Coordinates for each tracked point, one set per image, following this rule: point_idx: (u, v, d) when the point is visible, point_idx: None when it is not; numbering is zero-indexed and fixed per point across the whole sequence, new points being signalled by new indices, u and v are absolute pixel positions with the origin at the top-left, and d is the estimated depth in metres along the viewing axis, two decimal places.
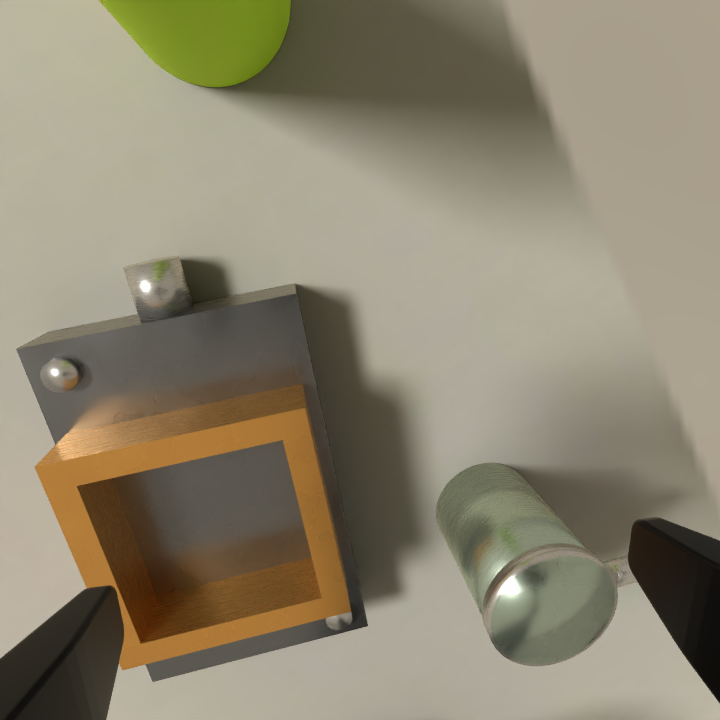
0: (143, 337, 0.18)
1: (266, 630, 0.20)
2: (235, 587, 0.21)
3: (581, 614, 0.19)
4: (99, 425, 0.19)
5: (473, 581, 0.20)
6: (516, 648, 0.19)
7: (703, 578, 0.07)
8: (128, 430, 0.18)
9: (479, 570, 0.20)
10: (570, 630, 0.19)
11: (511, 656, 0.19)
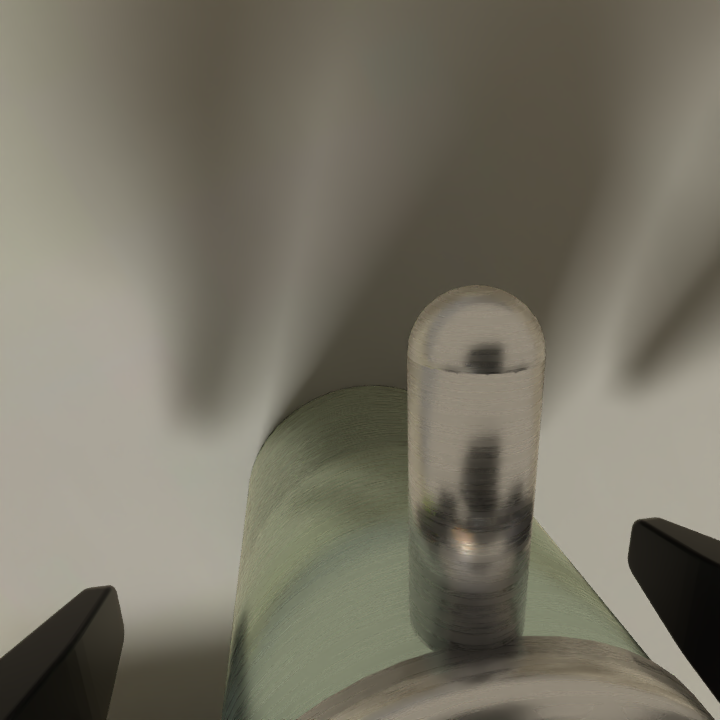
0: None
1: None
2: None
3: None
4: None
5: None
6: None
7: (703, 578, 0.07)
8: None
9: None
10: None
11: None
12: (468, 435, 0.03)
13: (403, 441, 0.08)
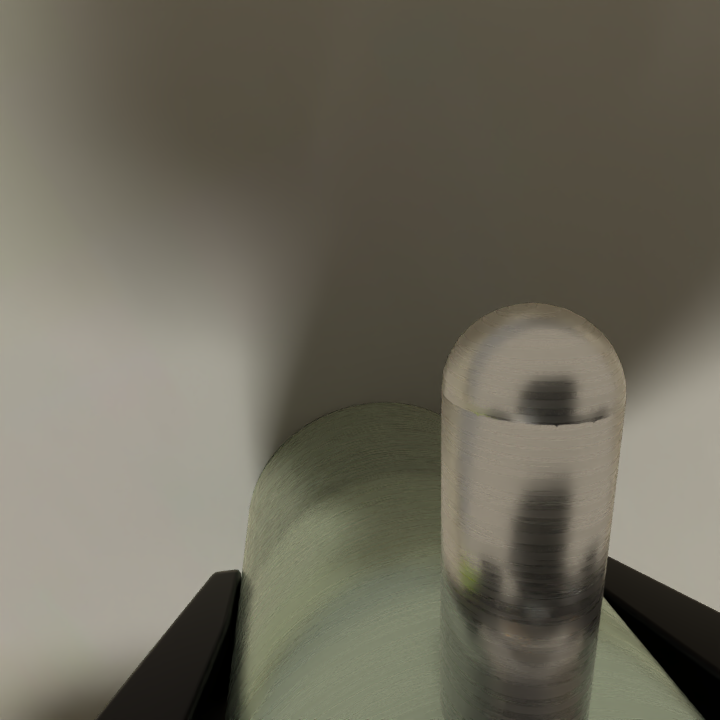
0: None
1: None
2: None
3: None
4: None
5: None
6: None
7: None
8: None
9: None
10: None
11: None
12: (528, 502, 0.03)
13: (420, 469, 0.07)
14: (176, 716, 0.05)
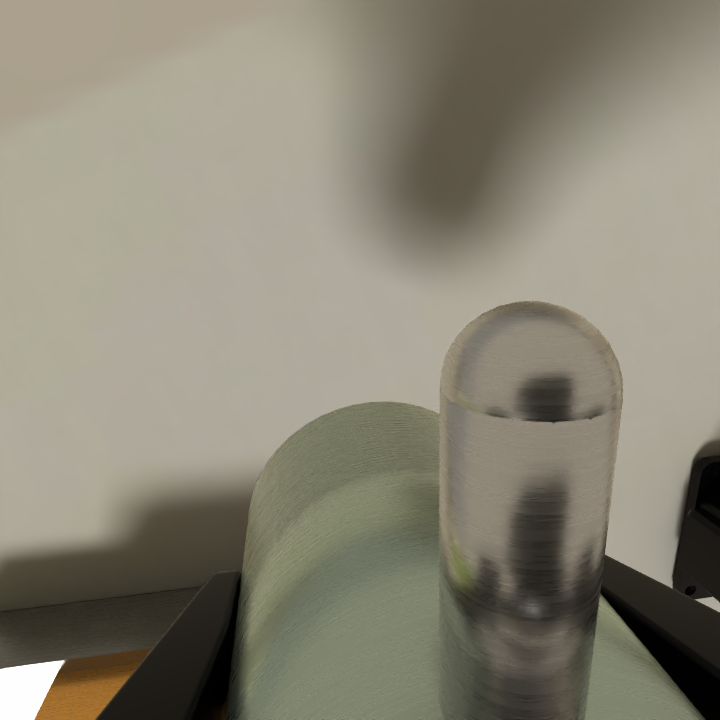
0: None
1: None
2: None
3: None
4: None
5: None
6: None
7: None
8: None
9: None
10: None
11: None
12: (526, 499, 0.03)
13: (420, 468, 0.07)
14: (176, 716, 0.05)
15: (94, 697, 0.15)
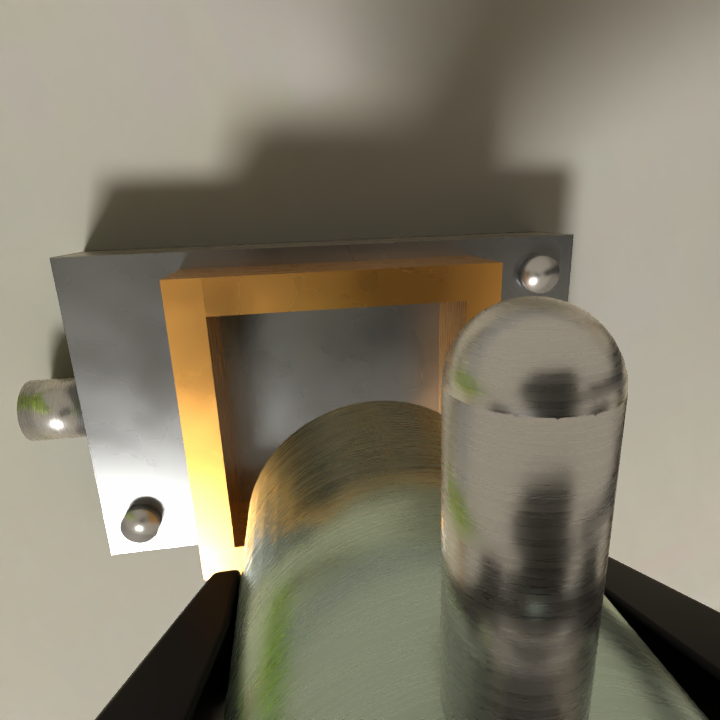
0: (104, 439, 0.16)
1: None
2: None
3: None
4: None
5: None
6: None
7: None
8: None
9: None
10: None
11: None
12: (528, 495, 0.03)
13: (420, 467, 0.07)
14: (176, 716, 0.05)
15: (226, 270, 0.14)
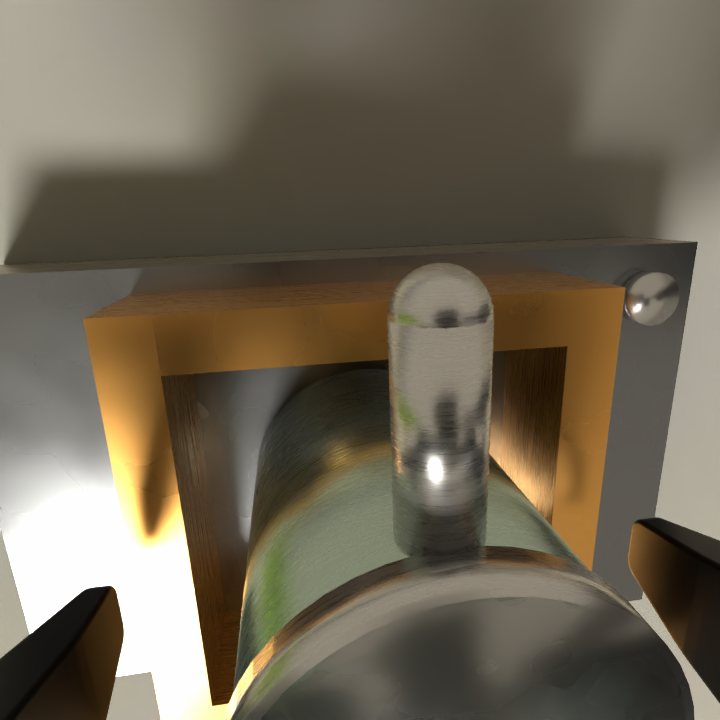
0: (27, 535, 0.11)
1: (599, 460, 0.10)
2: (513, 473, 0.12)
3: (515, 707, 0.05)
4: None
5: None
6: None
7: (703, 578, 0.07)
8: None
9: None
10: None
11: None
12: (433, 375, 0.04)
13: None
14: None
15: (198, 297, 0.09)
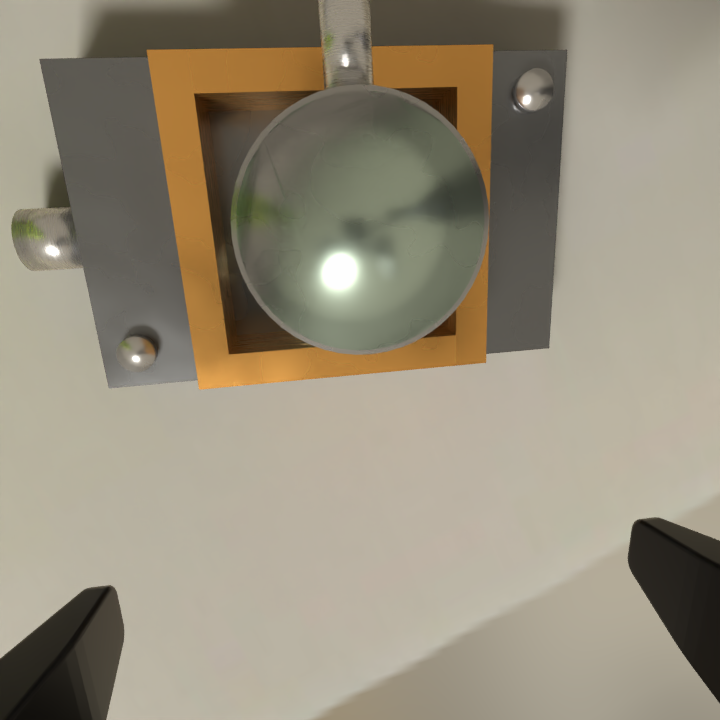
0: (98, 261, 0.16)
1: (486, 177, 0.14)
2: None
3: (385, 169, 0.10)
4: None
5: None
6: (428, 302, 0.11)
7: (703, 578, 0.07)
8: None
9: None
10: (418, 193, 0.10)
11: (443, 312, 0.11)
12: None
13: None
14: None
15: None
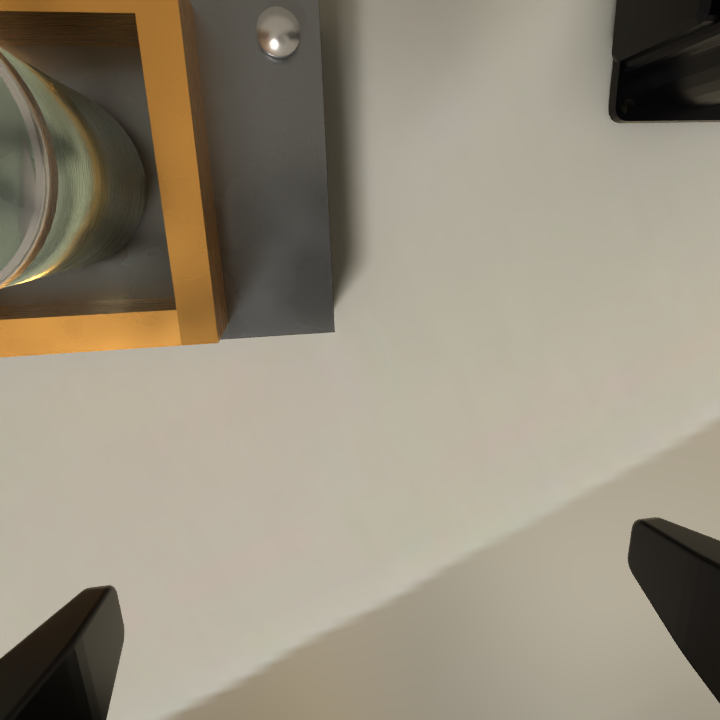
0: None
1: (187, 124, 0.12)
2: None
3: None
4: None
5: None
6: None
7: (703, 578, 0.07)
8: None
9: None
10: None
11: (0, 264, 0.09)
12: None
13: None
14: None
15: None
